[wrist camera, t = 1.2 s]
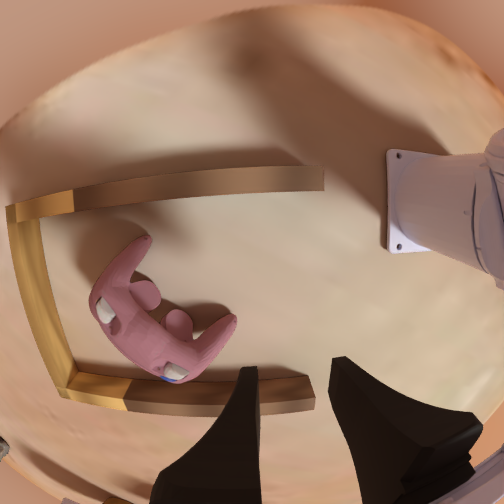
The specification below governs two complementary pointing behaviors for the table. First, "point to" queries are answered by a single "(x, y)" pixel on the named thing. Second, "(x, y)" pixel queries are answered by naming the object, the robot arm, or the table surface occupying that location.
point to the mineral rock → (3, 448)
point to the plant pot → (115, 501)
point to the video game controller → (152, 322)
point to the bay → (135, 390)
